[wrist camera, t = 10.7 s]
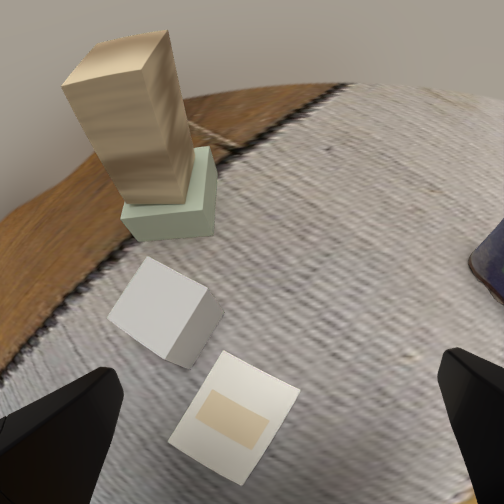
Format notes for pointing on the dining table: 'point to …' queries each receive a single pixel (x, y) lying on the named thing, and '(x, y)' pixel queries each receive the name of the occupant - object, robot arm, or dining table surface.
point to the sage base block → (179, 207)
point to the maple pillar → (135, 116)
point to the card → (233, 418)
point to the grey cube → (167, 313)
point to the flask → (491, 262)
